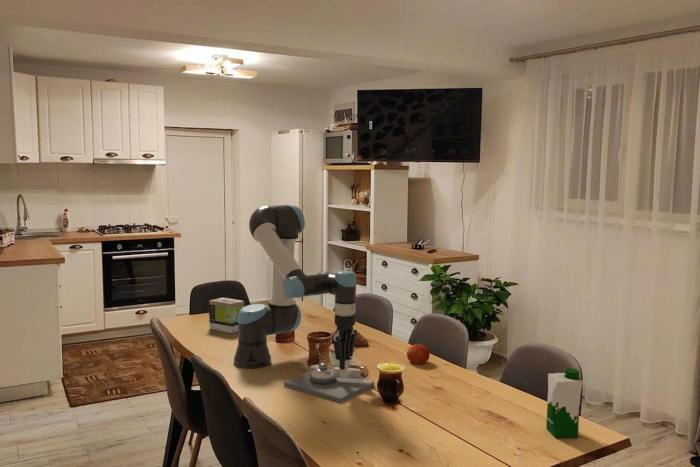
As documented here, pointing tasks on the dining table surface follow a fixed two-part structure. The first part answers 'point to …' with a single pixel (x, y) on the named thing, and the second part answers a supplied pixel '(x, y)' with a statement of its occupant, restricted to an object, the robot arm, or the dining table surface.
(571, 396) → the milk carton
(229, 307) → the tea box
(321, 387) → the base plate
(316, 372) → the grey saucepan
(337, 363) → the lidded jar
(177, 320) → the dining table surface
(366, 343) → the pastry
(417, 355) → the tomato
